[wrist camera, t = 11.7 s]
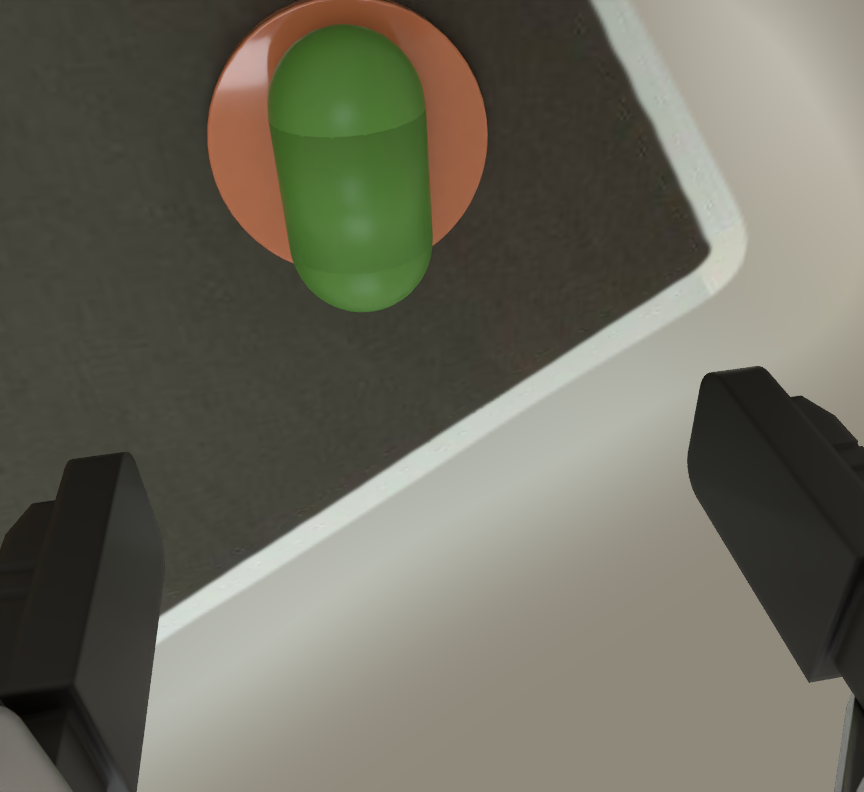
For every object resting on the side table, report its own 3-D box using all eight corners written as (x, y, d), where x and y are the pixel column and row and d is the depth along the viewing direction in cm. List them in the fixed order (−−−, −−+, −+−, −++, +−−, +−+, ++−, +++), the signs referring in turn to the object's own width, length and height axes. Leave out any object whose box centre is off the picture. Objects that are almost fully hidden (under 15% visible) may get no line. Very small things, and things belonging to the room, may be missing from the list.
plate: (178, 5, 21) (176, 10, 21) (482, -21, 22) (487, -17, 22) (237, 281, 26) (236, 290, 25) (485, 250, 27) (489, 259, 26)
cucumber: (259, 14, 21) (247, 53, 18) (413, 3, 21) (429, 39, 18) (301, 277, 26) (298, 345, 22) (429, 265, 26) (443, 331, 23)
